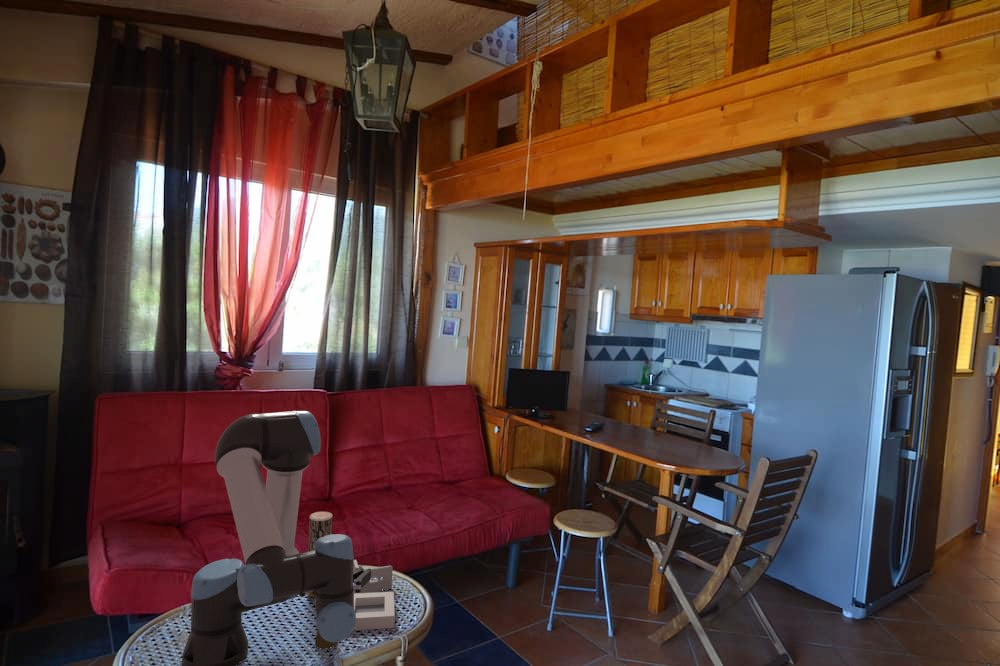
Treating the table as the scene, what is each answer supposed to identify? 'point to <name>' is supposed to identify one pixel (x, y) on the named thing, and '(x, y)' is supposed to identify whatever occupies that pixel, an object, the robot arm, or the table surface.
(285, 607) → the table surface
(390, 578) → the cassette
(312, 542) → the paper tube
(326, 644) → the cork
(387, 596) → the socket block
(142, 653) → the table surface
